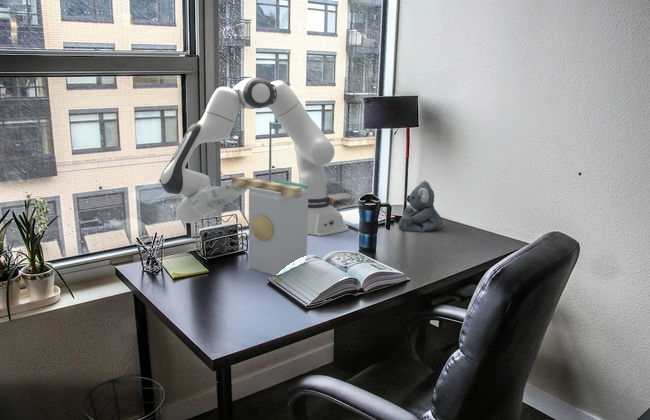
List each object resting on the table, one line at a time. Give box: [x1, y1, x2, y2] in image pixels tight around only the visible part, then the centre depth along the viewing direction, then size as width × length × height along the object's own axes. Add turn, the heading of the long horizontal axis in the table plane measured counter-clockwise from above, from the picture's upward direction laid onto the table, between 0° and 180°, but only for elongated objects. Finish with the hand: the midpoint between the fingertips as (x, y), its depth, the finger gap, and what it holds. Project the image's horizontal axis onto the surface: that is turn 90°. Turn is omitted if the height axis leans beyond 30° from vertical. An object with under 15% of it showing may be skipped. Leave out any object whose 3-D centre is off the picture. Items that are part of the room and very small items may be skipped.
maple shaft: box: [231, 175, 302, 198], centre depth 172 cm, size 26×3×3 cm, turn 57°
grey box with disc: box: [248, 179, 308, 276], centre depth 178 cm, size 12×17×27 cm
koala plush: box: [397, 180, 444, 233], centre depth 227 cm, size 17×18×20 cm
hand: (236, 184), depth 179 cm, fingers open, 8 cm apart
